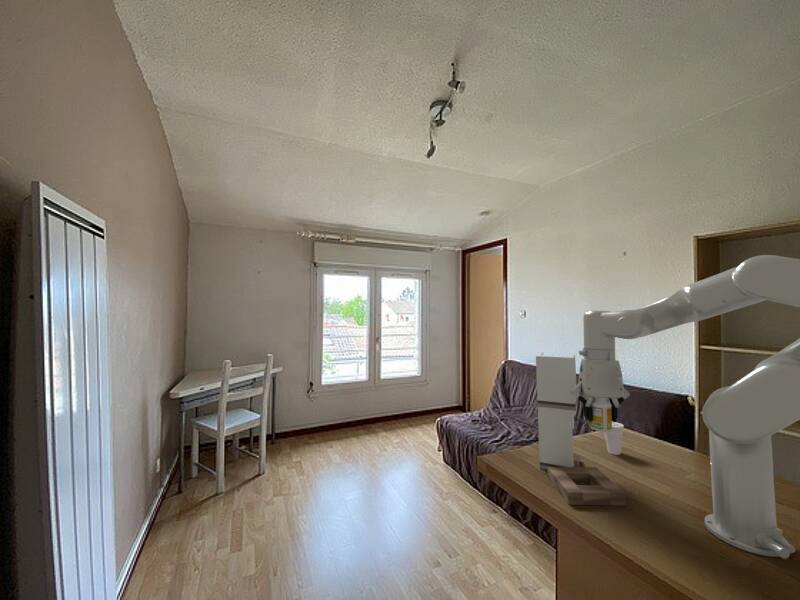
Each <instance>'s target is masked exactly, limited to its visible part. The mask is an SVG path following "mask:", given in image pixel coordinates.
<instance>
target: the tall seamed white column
mask: <svg viewBox="0 0 800 600" xmlns="http://www.w3.org/2000/svg"><path fill="white" fill-rule="evenodd" d="M535 367H536V368H535V369H536V370H535V371H536V373H535V374H536V395H537V401H536V402H537V421H538V422H537V423H538V428H537V429H538V450H539V451H538V453H539V469H541V470H544V471H545V470H546V471H547V467H580V463H581V462H580V454H578V453H574V440H573V439H574V438H573V436H574V435H573V432H574V431H575V417H574V416H576V415H577V412H578V399H577V398H576V397H575V396H574V395H573V394H572V393H571V391H572V390H573V389H574V387H575V386H576V385H577V370H576V368H577V367H576V353H574V352H573V353H571V354H570V355H569V356H553V355H552V356H551V355H550V356H549V355H544V352H541V351H540V352H538V354H537V355H535Z"/></svg>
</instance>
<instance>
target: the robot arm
mask: <svg viewBox="0 0 800 600" xmlns="http://www.w3.org/2000/svg"><path fill="white" fill-rule="evenodd" d="M765 301H770V302H773V303H774V302H775V303H779V304H783V305H786V306H791V307H792V306H793V307H796V308H800V258H795V257H794V258H793V257H786V256H783V255H782V256H781V255H774V254H773V255H772V254H761V255H755V256H752V257H750V258H747V259H745V260H743V261H742V262H741V263H740V264H739V265H737V266H735V267H732V268H730V269H727V270H725V271H722V272H720V273H717V274H714V275H711V276H709V277H706V278H704V279H700V280H698V281H695V282H693V283H690V284H687V285H685V286H683V287H680V289H678V290H677V291H676V292H674V293H673V294H672V295H670V296H667V297H666V298H664V299H661V300H658V301H656V302H653V303H651V304H648V305H645V306H642V307H639V308H636V309H628V310H627V309H626V310H618V311H611V310H588V311H585V312H584V314H583V317H582V318H583V349H582V350H579V351H578V355H579V356H581V357H582V356H583V358H582V359H581V361H580V366H579V371H578V372H579V373H578V383H576V386H575V387H574V389H573V390H572V391H571V393H572V394H573V395H574V396H575V397H576V398H577V401H579V402H581V403H582V405H583V417H584V418H585V419H586V420H587V421H588V422H589V421H591V422H592V421H593V408H592V407H591V402H592V399H593V397H597V398H608V400H607V401H608V402H610V403H611V407H612V421H613V422H617V419H618V408H620V405H621V404H622V403H623V402H624V401H625V400H626V399H627V398H629V397H630V394H631V393H630V392H629V391H628V390H627V389H626V388H625V387H624V379H623V378H624V377H623V374H622V368H621V364H620V361H619V360H617V359H616V338H617V339H622V340H623V339H624V340H635V339H639V338H643V337H644V338H645V337H646V336H650V335H653V334H656V333H660V332H662V331H665V330H669V329H673V328H675V327H679V326H682V325H686V324H690V323H695V322H696V323H697V322H700V321H704V320H706V319H710V318H713V317H716V316H719V315H723V314H725V313H728V312H729V313H730V312H733V311H735V310H738V309H743V308H745V307H748V306H752V305H755V304H758V303H761V302H765ZM580 393H581V394H583V396H582V395H581V394H580ZM701 413H702V414H701V416H702V419H703V420H702V421H703V422H704V425H705V426H706V428H707V429H708V434H709V435H708V437H709V438H708V439H709V459H710V460H709V461H710V462H709V463H710V477H711V478H710V479H711V494H712V496H711V497H712V509H713V510H712V511H713V513H710V514H707V515H706V516H705V517H704V526H705V527H706V529H707V530H708V531H709V532H710V533H711V534H712V535H713V536H715V537H717V538H718V539H720V540H721V541H723V542H724V543H727V544H728V545H731V546H732V547H735V548H738V549H740V550H743V551H746V552H749V553H752V554H756V555H760V556H766V557H776V558H777V557H780V558H782V559H783V560H784V559H785V560H786V559H788V558H789V557H790V555H791V554H793V553H795V552H796V547H795V546H794V545H792V544H790V543H789V542H788V540H787V539H786V538H785V537H784V536H783V529H781V528H780V527H778V526H777V512H776V511H777V509H776V495H775V483H774V482H775V480H774V460H773V444H772V435H774V434H776V433H778V432H780V431H781V430H784V429H785V428H788V427H789V426H791V425H792V424H794V423H796V422H798V421H800V337H799V338H798V339H797V340H795V341H794V342H791V343H790V344H789V345H787V346H786V347H784V348H783V349H781V350H780V351H778V352H776V353H774V355H771V356H769V357H767V358H766V359H765V358H764V359H763V360H761V361H760V362H759V363H758V364H756V366H755V368H754V369H753V370H752V371H751V372H749V373H748V374H746V375H745V376H744V377H742V378H739V379H738V380H737V381H736V382H734V383H732V384H731V385H730V386H724V387H723V386H722V387H720V388H717V389H716V390H714V391H713V392H712V393H711V394H709V396H708V398H706V401H705V403H704V405H703V406H702V412H701Z"/></svg>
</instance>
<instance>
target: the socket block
mask: <svg viewBox="0 0 800 600" xmlns="http://www.w3.org/2000/svg"><path fill="white" fill-rule="evenodd" d="M546 471H547V478H548V480H549V481H550V482H551V484H552V485H553V486H554V488H556V490H557V491H558V492H559V494H560V495H561V497H562V498H563V499H564V501H566V502H565V503H567V504H568V505H573V506H574V505H577V506H578V505H580V506H582V505H586V506H595V505H596V506H627V504H626V492H625V491H623V490H622V488H620V487H619V486H618V485H617V484H616V483H615V482H614V481H613V480H611V479H610V478H609V477H608V476H606V475H605V474H604V473H603V472H602V471H601V470H600V469H598V467H595V466H594V467H593V466H592V467H591V466H590V467H589V466H588V467H584V466H579V467H547V470H546Z"/></svg>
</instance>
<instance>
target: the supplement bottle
mask: <svg viewBox="0 0 800 600" xmlns="http://www.w3.org/2000/svg"><path fill="white" fill-rule="evenodd" d="M591 407H592V408H593V421H592V422H591V421H588V422H589V428H590V429H592V430H594V431H597V432H603V433H604V432H609V431H611V430H612V407H611V403H610V402H609V400H608V398H597V397H593V399H592V402H591Z"/></svg>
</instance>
